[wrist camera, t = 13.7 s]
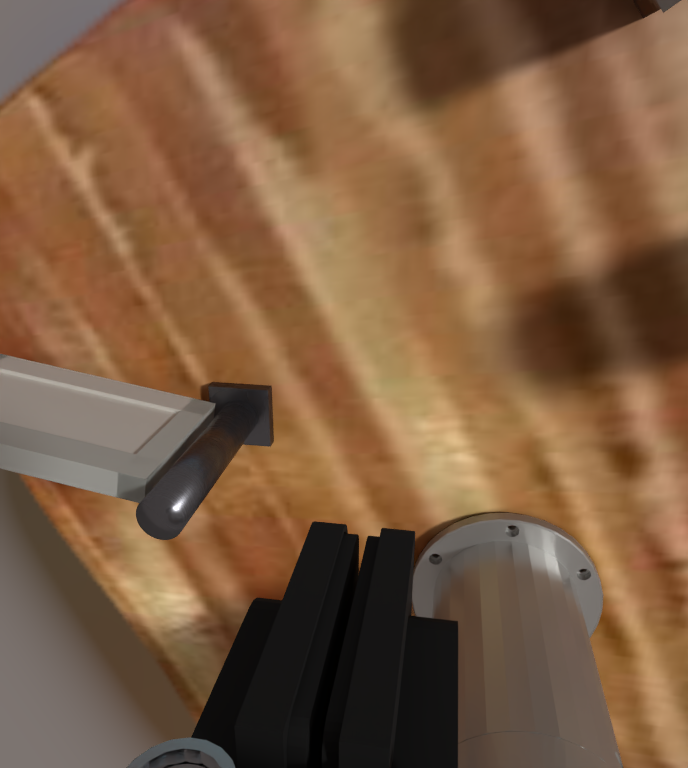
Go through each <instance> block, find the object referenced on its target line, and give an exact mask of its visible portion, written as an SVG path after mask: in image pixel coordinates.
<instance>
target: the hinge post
mask: <svg viewBox="0 0 688 768" xmlns="http://www.w3.org/2000/svg"><path fill="white" fill-rule="evenodd" d="M208 387H209V400H210V402H211V403H215V412H214V419H213V420H212V421H211V422H210V423H209V425H208V426H207V427H206V428H205V429H204V430H203V431H202V433H201V434H200V435H199V436H198V437H197V438H196V439H195V441H194V442H193V443H192V444H191V445H190V446H189V447H188V449H187V450H186V451H185V452H184V453H183V454H182V455H181V457H180V458H179V459H178V460H177V461H176V462H175V463H174V465H173V466H172V467H171V468H170V469H169V470H168V471H167V473H166V474H165V475H164V476H163V477H162V478H161V479H160V481H159V482H158V483H157V484H156V485H155V486H154V487H153V489H152V490H151V491H150V492H149V493H148V494H147V495H146V497H145V498H144V499H143V500H142V501H141V502H140V503H139V505H138V507H137V510H136V518H137V521H138V523H139V525H140V527H141V528H142V529H143V530H144V531H145V532H146V533H147V534H148V535H150V536H152V537H154V538H156V539H161V540H169V539H172V538H175V537H176V536H178V535H179V534H180V532H181V531H182V529H183V528H184V527H185V525H186V524H187V522H188V521H189V520H190V518H191V517H192V515H193V514H194V512H195V511H196V510H197V508H198V507H199V505H200V504H201V503H202V501H203V500H204V498H205V497H206V496H207V494H208V493H209V491H210V490H211V488H212V487H213V486H214V484H215V483H216V481H217V480H218V479H219V477H220V476H221V474H222V473H223V471H224V470H225V469H226V467H227V466H228V464H229V463H230V462H231V460H232V459H233V457H234V456H235V455H236V453H237V452H238V450H239V449H240V447H241V446H242V445H243V444H245V445H258V446H271V445H272V443H273V442H274V436H273V412H272V387H271V386H265V385H250V384H234V383H219V382H212V383H211V384H210V385H209V386H208Z"/></svg>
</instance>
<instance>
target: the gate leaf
mask: <svg viewBox="0 0 688 768" xmlns="http://www.w3.org/2000/svg"><path fill="white" fill-rule="evenodd" d="M214 412H215V403H211V402H207V401H203V400H198V399H194V398H190V397H185V396H181V395H177V394H172V393H168V392H164V391H159V390H155V389H151V388H146V387H142V386H138V385H133V384H129V383H125V382H120V381H116V380H112V379H107V378H103V377H99V376H94V375H90V374H86V373H81V372H77V371H73V370H68V369H64V368H60V367H55V366H51V365H47V364H42V363H38V362H34V361H29V360H25V359H21V358H16V357H12V356H8V355H3V354H0V468H1V469H5V470H9V471H13V472H17V473H21V474H25V475H29V476H33V477H37V478H41V479H45V480H49V481H53V482H57V483H61V484H65V485H69V486H73V487H77V488H81V489H85V490H90V491H94V492H98V493H102V494H106V495H110V496H114V497H118V498H122V499H126V500H130V501H134V502H138V503H140V502H141V501H142V500H143V499H144V498H145V497H146V495H147V494H148V493H149V492H150V491H151V490H152V489H153V487H154V486H155V485H156V484H157V483H158V482H159V481H160V479H161V478H162V477H163V476H164V475H165V474H166V473H167V471H168V470H169V469H170V468H171V467H172V466H173V465H174V463H175V462H176V461H177V460H178V459H179V458H180V457H181V455H182V454H183V453H184V452H185V451H186V450H187V449H188V447H189V446H190V445H191V444H192V443H193V442H194V441H195V439H196V438H197V437H198V436H199V435H200V434H201V433H202V431H203V430H204V429H205V428H206V427H207V426H208V425H209V423H210V422H211V421H212V420H213V419H214Z"/></svg>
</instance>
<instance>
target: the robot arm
mask: <svg viewBox="0 0 688 768" xmlns="http://www.w3.org/2000/svg"><path fill="white" fill-rule="evenodd" d="M511 525H514V526H511ZM414 549H415V531H407V530H397V529H387V528H382V529H381V533H380V537H376V536H368V538H367V541H366V546H365V550H364V555H363V559H362V563H361V568H360V572H359V536H358V535H356V534H348V533H347V526H346V525H345V524H335V523H325V522H315V521H314V522H313V523H312V525H311V527H310V530H309V532H308V535H307V537H306V540H305V543H304V545H303V548H302V551H301V553H300V556H299V558H298V561H297V564H296V566H295V569H294V571H293V574H292V577H291V579H290V582H289V584H288V587H287V590H286V592H285V595H284V598H283V600H273V599H265V598H256V599H254V600H253V602H252V604H251V605H250V607H249V609H248V612H247V614H246V616H245V618H244V621H243V623H242V625H241V627H240V630H239V632H238V634H237V636H236V638H235V641H234V643H233V645H232V647H231V650H230V652H229V654H228V656H227V659H226V661H225V663H224V665H223V668H222V670H221V672H220V674H219V676H218V679H217V681H216V683H215V685H214V688H213V690H212V692H211V694H210V697H209V699H208V701H207V703H206V706H205V708H204V710H203V712H202V714H201V717H200V719H199V721H198V723H197V726H196V728H195V730H194V733H193V735H192V737H191V738H182V739H174V740H169V741H166V742H164V743H161V744H159V745H156V746H154V747H151V748H150V749H148V750H147V751H145V752H144V753H143V754H141V755H140V756H138V757H137V758H135V759H134V760H133V761H132V762H131V764H130V765H129V766H128V767H127V768H623V765H622V761H621V757H620V753H619V749H618V746H617V742H616V738H615V734H614V730H613V727H612V723H611V719H610V715H609V711H608V707H607V704H606V700H605V696H604V692H603V688H602V684H601V681H600V677H599V673H598V669H597V665H596V662H595V658H594V654H593V650H592V646H591V642H590V639H589V638H590V637H591V635H592V634H593V632H594V630H595V629H596V627H597V625H598V623H599V619H600V616H601V613H602V606H603V593H602V587H601V582H600V578H599V576H598V573H597V570H596V567H595V565H594V563H593V561H592V560H591V558H590V556H589V555H588V553H587V551H586V550H585V549H584V548H583V547H582V546H581V545H580V544H579V543H578V542H577V540H576V539H574V538H573V537H572V536H570V535H569V534H568V533H566V532H565V531H564V530H562V529H561V528H559V527H557V526H555V525H553V524H551V523H549V522H547V521H545V520H541V519H538V518H535V517H531V516H528V515H522V514H514V513H488V514H483V515H477V516H472V517H469V518H466V519H464V520H461V521H459V522H456V523H454V524H452V525H450V526H449V527H447V528H446V529H444V530H442V531H441V532H439V533H438V534H437V535H436V536H435V537H434V538H433V539H432V540H431V541H429V542H428V544H427V545H426V547H425V548H424V549H423V551H422V552H421V554H420V555H419V558H418V560H417V562H416V565H415V567H414ZM413 569H414V572H413ZM358 574H359V576H358ZM412 604H413V610H414V613H415V615H416V616H411V609H412Z"/></svg>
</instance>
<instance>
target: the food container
mask: <svg viewBox="0 0 688 768" xmlns="http://www.w3.org/2000/svg"><path fill="white" fill-rule="evenodd" d="M679 1H681V0H634V3H635V5H636V6H637V8H638V10H639V12H640V13H641V15H642V17H643V18H645V17H647V16H648V15H650V14H652V13H654V12H656V11H658V10H660V9H661V10H662V11H663V13H664V12H665V11H667V10H668V9H669V8H671V7H672V6H674V5H675V4H676V3H678V2H679Z"/></svg>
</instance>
